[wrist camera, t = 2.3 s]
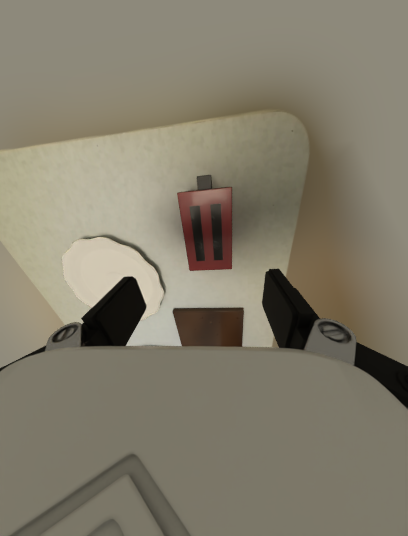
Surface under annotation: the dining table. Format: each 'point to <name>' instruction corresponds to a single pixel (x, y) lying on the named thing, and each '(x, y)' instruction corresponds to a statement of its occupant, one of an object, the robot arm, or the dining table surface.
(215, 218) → the toaster
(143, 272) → the plate
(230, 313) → the board
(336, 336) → the robot arm
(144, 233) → the dining table surface
